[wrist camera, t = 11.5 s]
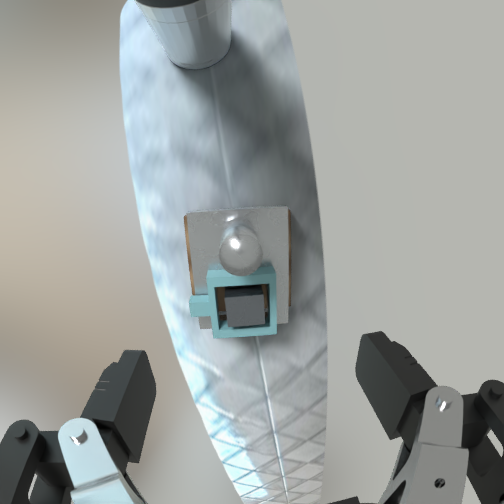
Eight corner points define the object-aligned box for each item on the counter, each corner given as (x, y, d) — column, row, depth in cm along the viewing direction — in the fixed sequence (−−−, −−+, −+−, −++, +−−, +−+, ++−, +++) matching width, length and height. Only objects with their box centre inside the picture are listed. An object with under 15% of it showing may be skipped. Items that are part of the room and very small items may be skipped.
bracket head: (188, 271, 35) (185, 279, 32) (273, 266, 35) (276, 273, 33) (196, 329, 37) (194, 339, 35) (274, 324, 38) (276, 334, 35)
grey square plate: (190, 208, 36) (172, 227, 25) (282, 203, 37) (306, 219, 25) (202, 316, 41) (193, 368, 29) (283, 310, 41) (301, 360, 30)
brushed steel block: (225, 275, 39) (224, 297, 32) (258, 273, 39) (263, 294, 33) (228, 301, 40) (228, 327, 33) (259, 299, 40) (265, 324, 34)
